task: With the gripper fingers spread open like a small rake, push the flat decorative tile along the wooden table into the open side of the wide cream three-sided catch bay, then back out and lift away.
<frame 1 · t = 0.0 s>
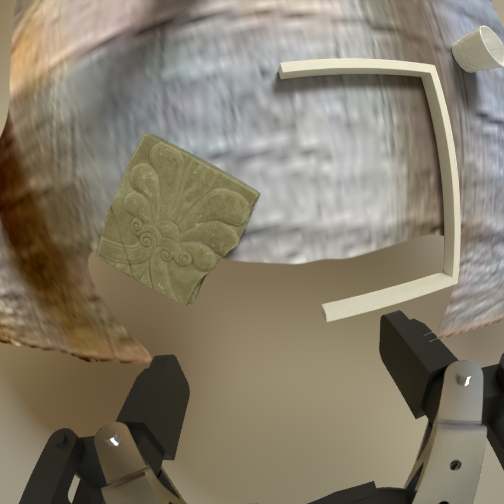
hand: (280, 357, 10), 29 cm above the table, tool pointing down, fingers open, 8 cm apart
decorative tile: (174, 222, 39), on the table
white cup: (462, 57, 28), on the table
catch bay: (382, 183, 36), on the table
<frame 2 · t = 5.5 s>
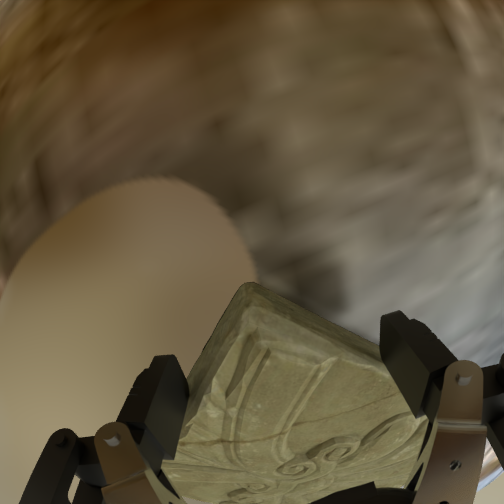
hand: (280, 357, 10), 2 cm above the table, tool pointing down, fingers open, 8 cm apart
decorative tile: (309, 445, 15), on the table
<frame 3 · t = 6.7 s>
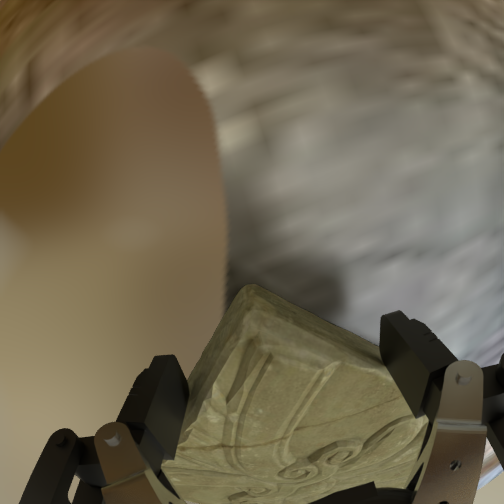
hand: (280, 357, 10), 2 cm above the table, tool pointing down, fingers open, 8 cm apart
decorative tile: (311, 448, 14), on the table, touching gripper
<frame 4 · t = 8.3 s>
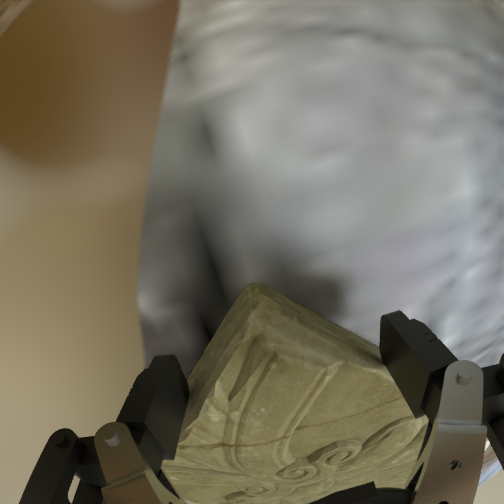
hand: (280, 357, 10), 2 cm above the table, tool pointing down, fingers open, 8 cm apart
decorative tile: (308, 449, 15), on the table, touching gripper
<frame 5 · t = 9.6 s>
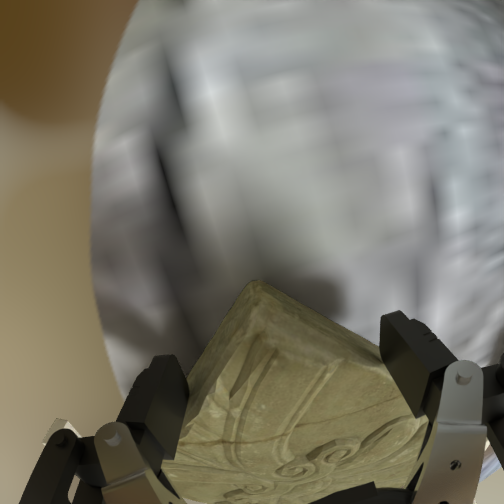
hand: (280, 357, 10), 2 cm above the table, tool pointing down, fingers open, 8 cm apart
decorative tile: (307, 447, 15), on the table
catch bay: (309, 489, 16), on the table
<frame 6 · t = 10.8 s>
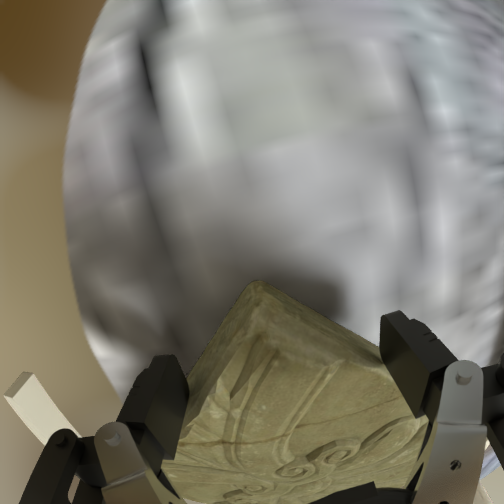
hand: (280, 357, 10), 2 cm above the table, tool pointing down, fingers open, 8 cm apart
decorative tile: (307, 448, 15), on the table
white cup: (452, 477, 21), on the table
catch bay: (305, 470, 15), on the table
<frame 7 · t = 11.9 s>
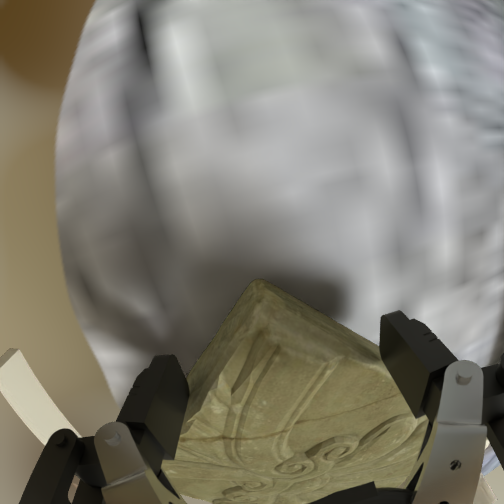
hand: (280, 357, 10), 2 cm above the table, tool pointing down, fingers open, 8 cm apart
decorative tile: (305, 445, 15), on the table
white cup: (455, 473, 21), on the table
catch bay: (302, 460, 14), on the table
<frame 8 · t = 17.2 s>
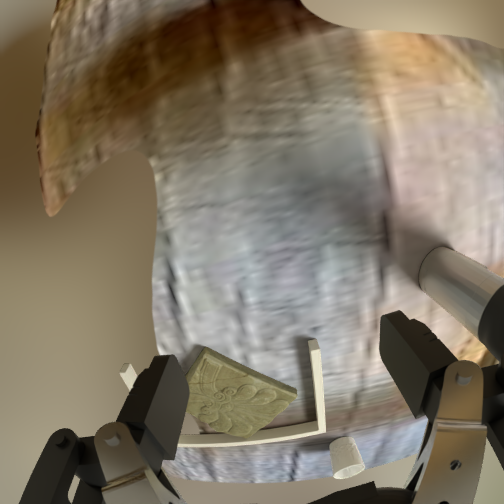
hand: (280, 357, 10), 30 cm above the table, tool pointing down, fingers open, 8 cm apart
decorative tile: (229, 394, 49), on the table
white cup: (341, 442, 55), on the table
catch bay: (228, 400, 49), on the table
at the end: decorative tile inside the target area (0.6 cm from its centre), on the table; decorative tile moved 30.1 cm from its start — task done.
